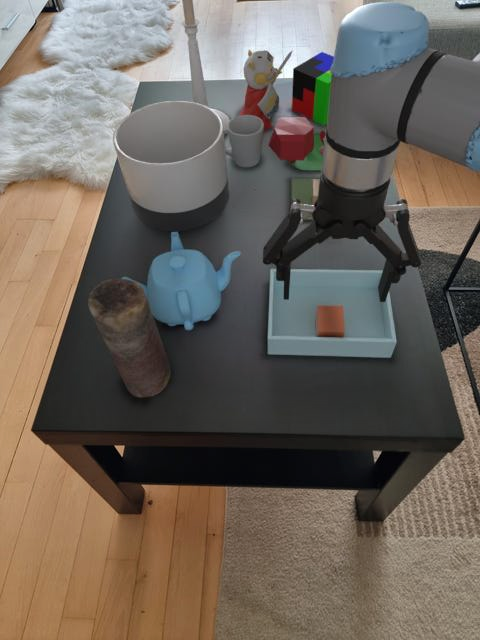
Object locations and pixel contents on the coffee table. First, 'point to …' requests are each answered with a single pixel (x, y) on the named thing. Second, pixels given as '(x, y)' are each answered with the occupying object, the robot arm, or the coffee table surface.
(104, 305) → the candle
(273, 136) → the low-poly diorama
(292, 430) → the coffee table surface
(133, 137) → the planter
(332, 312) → the terracotta piece
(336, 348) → the box
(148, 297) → the teapot
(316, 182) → the birch piece
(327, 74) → the puzzle toy
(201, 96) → the candlestick
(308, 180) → the mat
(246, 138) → the cup
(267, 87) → the figurine
